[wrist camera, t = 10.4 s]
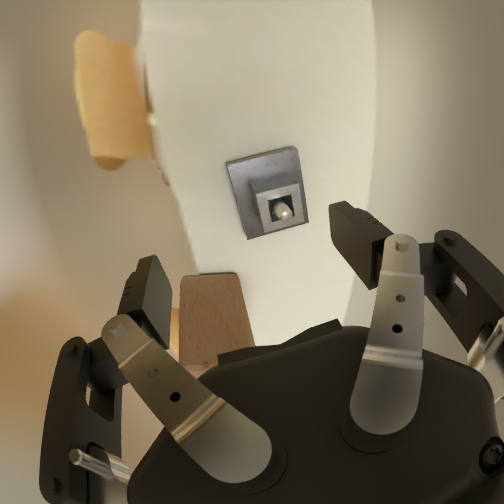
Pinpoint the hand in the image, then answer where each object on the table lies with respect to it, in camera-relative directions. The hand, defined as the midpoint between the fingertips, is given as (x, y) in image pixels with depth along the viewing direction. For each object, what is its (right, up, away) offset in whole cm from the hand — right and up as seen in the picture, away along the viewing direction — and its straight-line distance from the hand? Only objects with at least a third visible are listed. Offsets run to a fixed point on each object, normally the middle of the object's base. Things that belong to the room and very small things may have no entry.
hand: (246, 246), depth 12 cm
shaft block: (+3, +9, +29) cm, 30 cm away
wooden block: (-7, -8, +37) cm, 39 cm away
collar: (+3, +8, +27) cm, 28 cm away
